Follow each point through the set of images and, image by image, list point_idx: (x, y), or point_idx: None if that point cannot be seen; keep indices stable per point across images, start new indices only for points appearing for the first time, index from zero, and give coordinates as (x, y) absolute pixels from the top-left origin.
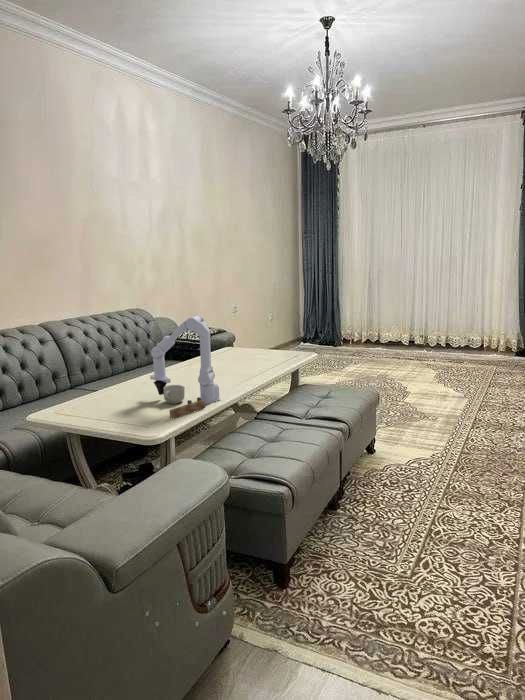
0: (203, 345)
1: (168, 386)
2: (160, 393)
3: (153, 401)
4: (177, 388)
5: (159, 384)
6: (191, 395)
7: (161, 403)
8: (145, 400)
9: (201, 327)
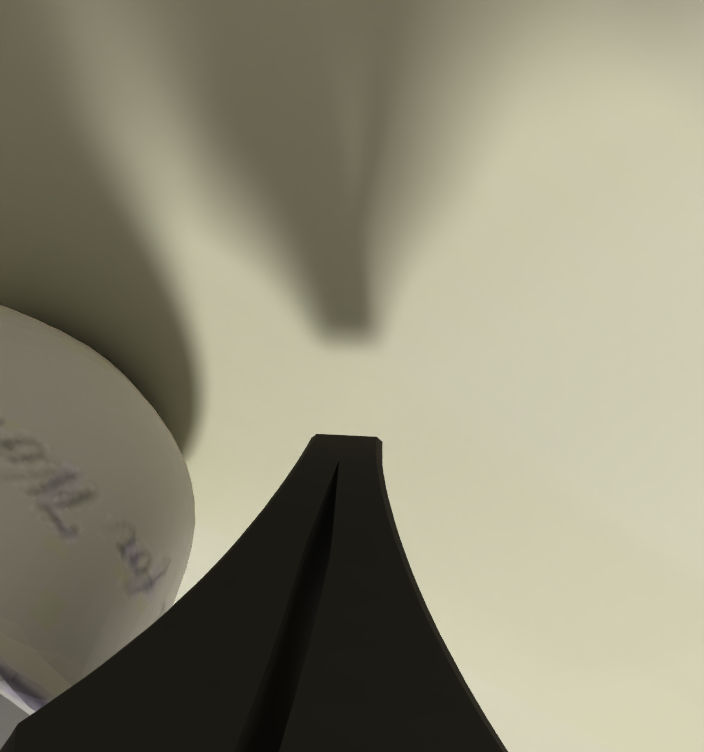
0: None
1: None
2: (301, 460)
3: (402, 206)
4: None
5: (17, 729)
6: None
7: (115, 224)
8: (681, 123)
9: None
